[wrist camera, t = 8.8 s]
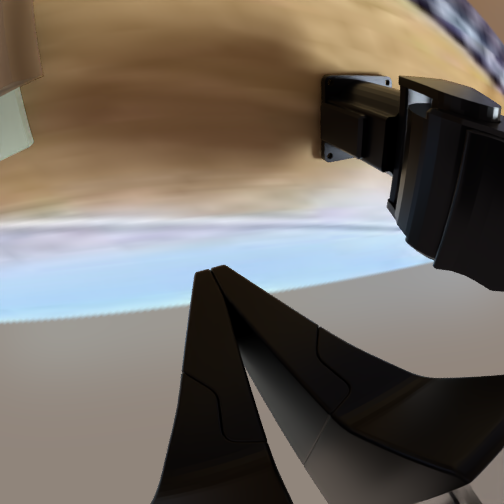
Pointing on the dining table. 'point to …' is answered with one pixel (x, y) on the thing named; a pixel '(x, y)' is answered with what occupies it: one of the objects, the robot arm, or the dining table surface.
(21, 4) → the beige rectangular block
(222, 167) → the dining table surface
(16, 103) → the mat
